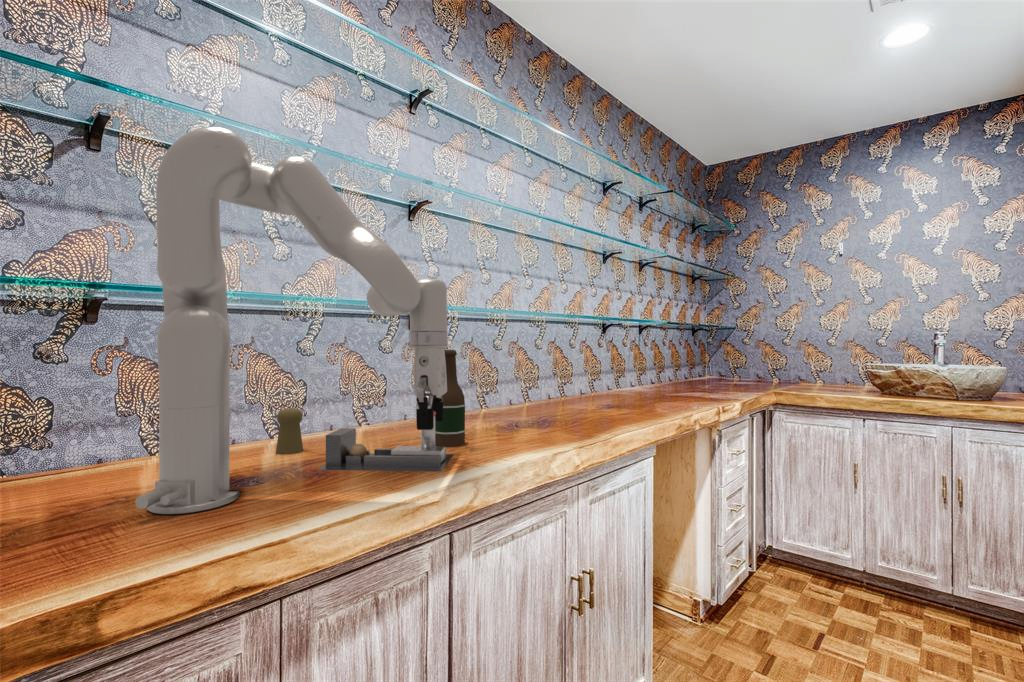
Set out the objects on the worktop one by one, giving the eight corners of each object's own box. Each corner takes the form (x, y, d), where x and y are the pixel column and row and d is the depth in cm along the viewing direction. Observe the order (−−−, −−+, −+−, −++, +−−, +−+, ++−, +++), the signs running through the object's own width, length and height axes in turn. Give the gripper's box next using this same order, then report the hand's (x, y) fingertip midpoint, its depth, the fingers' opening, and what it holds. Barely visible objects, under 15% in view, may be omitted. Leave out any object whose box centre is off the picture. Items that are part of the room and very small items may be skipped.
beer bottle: (471, 451, 116) (471, 350, 116) (441, 455, 111) (441, 350, 111) (456, 445, 122) (456, 349, 122) (427, 449, 118) (427, 349, 118)
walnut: (363, 463, 98) (363, 445, 98) (346, 463, 98) (346, 445, 98) (369, 459, 101) (369, 442, 101) (352, 459, 101) (352, 442, 101)
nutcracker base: (441, 479, 92) (441, 439, 92) (316, 477, 93) (316, 438, 93) (453, 461, 106) (453, 426, 106) (345, 459, 107) (345, 425, 107)
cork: (296, 461, 105) (296, 410, 105) (269, 461, 106) (269, 410, 106) (309, 455, 111) (309, 407, 112) (282, 455, 112) (283, 407, 112)
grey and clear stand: (440, 463, 96) (440, 413, 97) (391, 462, 97) (391, 412, 97) (445, 458, 101) (445, 410, 101) (397, 457, 101) (397, 409, 101)
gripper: (438, 340, 90) (440, 433, 90) (454, 340, 107) (456, 417, 108) (398, 341, 91) (400, 433, 91) (420, 340, 108) (422, 418, 108)
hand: (430, 424), depth 99 cm, fingers open, 9 cm apart
